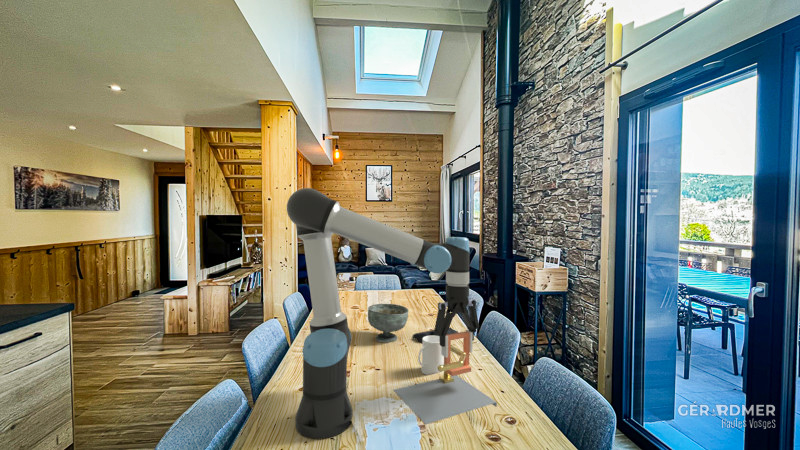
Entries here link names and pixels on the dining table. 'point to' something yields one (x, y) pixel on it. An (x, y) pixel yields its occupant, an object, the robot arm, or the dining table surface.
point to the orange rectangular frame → (465, 336)
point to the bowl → (387, 320)
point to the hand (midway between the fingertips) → (457, 353)
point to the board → (442, 399)
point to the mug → (431, 355)
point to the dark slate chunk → (422, 334)
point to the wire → (451, 365)
